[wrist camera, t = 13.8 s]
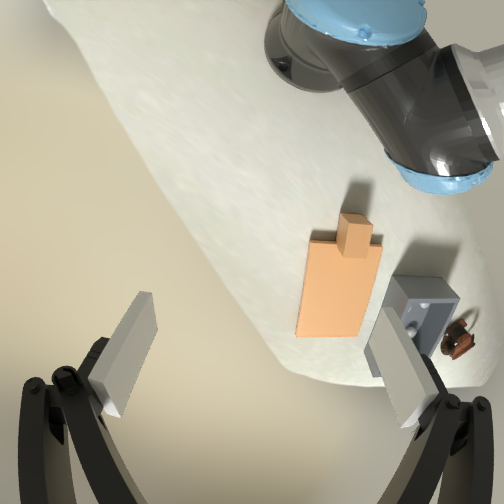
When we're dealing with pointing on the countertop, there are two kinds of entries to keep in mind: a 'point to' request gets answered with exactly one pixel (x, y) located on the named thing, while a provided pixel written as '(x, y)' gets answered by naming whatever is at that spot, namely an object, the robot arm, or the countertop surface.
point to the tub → (418, 311)
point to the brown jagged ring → (457, 340)
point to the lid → (339, 280)
